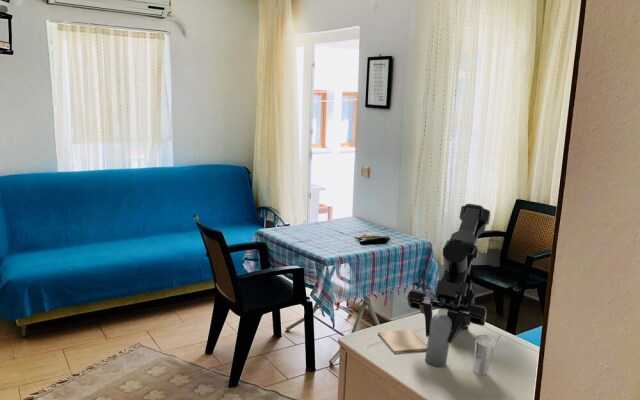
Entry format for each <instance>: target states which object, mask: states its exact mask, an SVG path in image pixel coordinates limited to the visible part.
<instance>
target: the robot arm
mask: <svg viewBox="0 0 640 400" xmlns="http://www.w3.org/2000/svg"><path fill="white" fill-rule="evenodd" d="M490 219H491V211H490V210H489V209H487V208H484V206H482V205H480V204H476V203H466V204H465V205H463V206H462V205H461V207H460V212H459V220H460V221H461V223H460V225H459V228H458V231H455V232H452V234H451V236H450V237H449V240H446V243H445V244H444V246H443V247H442V262H443V263H442V264H443V273H442V275H441V280H440V279H438V280H437V284H436V289H435V293H434V296H435V297H434V298H435V299H434V298H431V297H427V294H426V292H425V291H420V290H416V289H411V290H409V291H408V295H407V297H406V299H407V304H408V307H409V308H411V309H415V310H419V311H420V312H419V313H421V314H422V315H423V316H424V320H425V337H426V338H428V336H429V329H430V322H431V319H432V317H433V308H434V309H438V310H439V309H444V308H446V309H448V312H447V316H448V317H449V318H450V319H451V322H452V328H451V334H450V337H449V344H451V343H452V342H453V340H454V339H455V337H456V336H458V334H459V333H460V331H461V330H466V329H469V326H471V324H474V325H478V326H485V324H486V320H487V311H488V310H487V308H486V307H485V306H483V305H479V304H475V299H476V297H475V293H474V289H472V284H473V283H472V282H473V280H472V277H471V275H470V273H471V272H470V271H471V267H472V263H473V261H474V260H475V259H477V257H478V256H479V253H480V252H479V251H480V250H479V247H478V245H477V241H478V237H480V236H481V235H482V234H483V233H485V230H486V227H487V226H488V225H489V224H490Z"/></svg>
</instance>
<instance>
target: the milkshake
mask: <svg viewBox="0 0 640 400" xmlns="http://www.w3.org/2000/svg"><path fill="white" fill-rule="evenodd" d="M500 337H501V335H499V336H498V338H497V339H496V340H495V339H494V338H493V337H491V336H489V335H488V334H478V335H476V337H475V338H474V353H473V354H474V355H473V362H472V363H473V364H472V371H473V373H474V374H476V375H478V376H487V374H488V372H489V367H490V364H491V359H492V356H493V353H494V350H495V347H496V346H495V345H496V343H497V341H498V340H499V339H500Z"/></svg>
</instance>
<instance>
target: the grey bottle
mask: <svg viewBox="0 0 640 400" xmlns="http://www.w3.org/2000/svg"><path fill="white" fill-rule="evenodd" d="M447 312H448V309H446V308H444V309H438V311H437V313H436V314H435V315H432V319H431V322H430V329H429V335H428V337H427V344H426V345H427V350H426V352H425V358H424V362H425V363H426V364H427V365H429V366H431V367H433V368H437V369H439V368H444V367H446V365H447V359H448V354H449V347H450V343H449V337H450V334H451V331H452V330H451V328H452V322H451V319H450V318H449V317H448V316H447Z"/></svg>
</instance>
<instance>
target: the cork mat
mask: <svg viewBox="0 0 640 400" xmlns="http://www.w3.org/2000/svg"><path fill="white" fill-rule="evenodd" d="M377 335H378V336H379V337H380V338H381V340H382V341H383V342H384V343H385V345H387V347H388V348H389V349H390V350H391V351H392V353H393V354H397V353H398V354H400V353H402V354H403V353H411V352H412V353H413V352H423V351H426V350H427V344H426V342H424V341H423V339H421V337H419V335H418V334H416V332H414V330H413V329H403V330H402V329H401V330H389V331H388V330H387V331H377Z"/></svg>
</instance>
